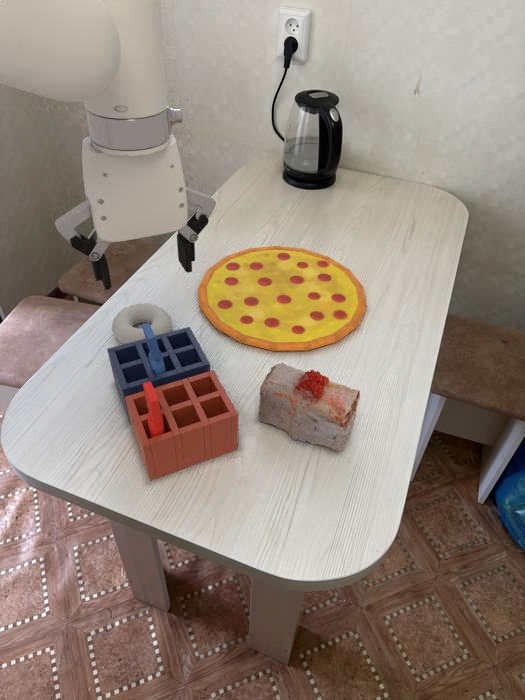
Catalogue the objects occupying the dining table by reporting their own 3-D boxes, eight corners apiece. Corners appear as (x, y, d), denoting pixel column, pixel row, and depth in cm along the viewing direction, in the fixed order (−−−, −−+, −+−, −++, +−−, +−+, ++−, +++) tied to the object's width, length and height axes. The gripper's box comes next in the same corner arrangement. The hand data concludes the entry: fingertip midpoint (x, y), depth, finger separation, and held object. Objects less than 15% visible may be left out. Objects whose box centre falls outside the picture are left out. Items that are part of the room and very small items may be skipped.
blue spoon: (163, 406, 75) (145, 340, 65) (157, 391, 77) (138, 325, 67) (175, 402, 75) (158, 335, 66) (168, 387, 77) (151, 321, 68)
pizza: (249, 234, 112) (249, 230, 111) (388, 279, 102) (389, 274, 101) (163, 313, 91) (162, 308, 90) (326, 379, 81) (327, 374, 80)
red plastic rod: (158, 469, 67) (146, 403, 58) (151, 450, 69) (139, 384, 60) (171, 464, 68) (162, 398, 58) (164, 446, 70) (154, 380, 60)
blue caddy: (130, 425, 73) (122, 389, 67) (115, 384, 78) (106, 348, 73) (211, 399, 77) (210, 363, 72) (192, 362, 83) (189, 326, 77)
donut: (134, 309, 92) (101, 342, 85) (131, 293, 90) (98, 326, 83) (182, 324, 90) (153, 359, 83) (181, 308, 87) (151, 343, 80)
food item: (357, 422, 75) (369, 376, 68) (341, 463, 70) (353, 418, 63) (272, 392, 79) (276, 346, 72) (251, 429, 73) (253, 383, 67)
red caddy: (150, 481, 66) (142, 446, 61) (132, 432, 72) (124, 396, 67) (237, 449, 71) (238, 414, 65) (214, 405, 76) (213, 369, 71)
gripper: (200, 106, 54) (203, 245, 66) (28, 121, 48) (65, 272, 59) (227, 130, 49) (226, 276, 61) (39, 151, 43) (78, 309, 55)
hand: (146, 274), depth 60 cm, fingers open, 9 cm apart
